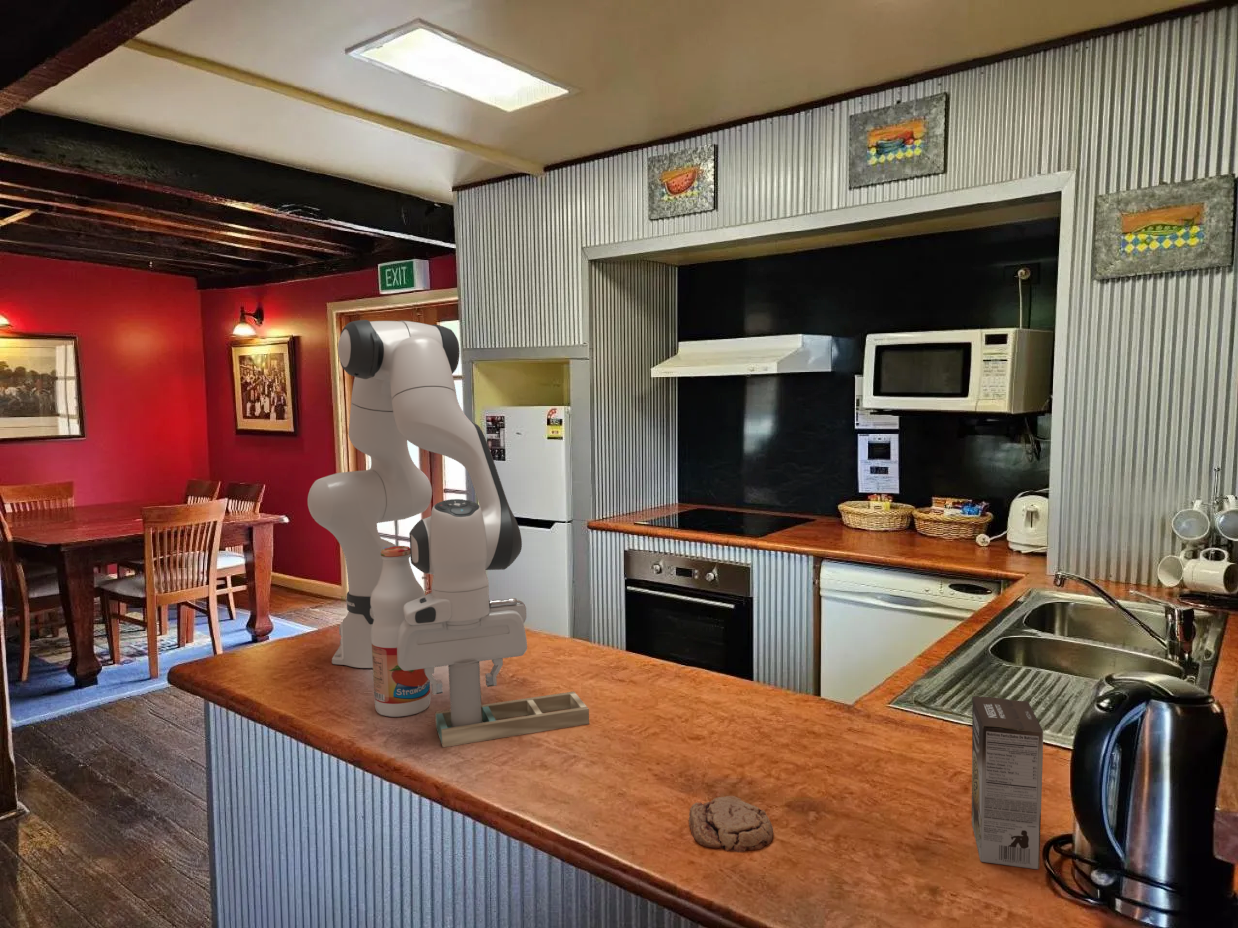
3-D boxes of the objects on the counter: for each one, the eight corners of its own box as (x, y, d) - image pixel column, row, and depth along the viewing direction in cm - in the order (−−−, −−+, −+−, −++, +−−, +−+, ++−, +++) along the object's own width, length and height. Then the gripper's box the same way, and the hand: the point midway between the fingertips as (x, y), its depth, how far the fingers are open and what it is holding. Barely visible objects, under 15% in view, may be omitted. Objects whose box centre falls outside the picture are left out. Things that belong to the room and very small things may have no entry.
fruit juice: (400, 694, 151) (392, 541, 148) (442, 701, 146) (435, 544, 144) (363, 713, 142) (354, 551, 140) (406, 721, 138) (398, 555, 136)
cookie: (763, 862, 95) (763, 837, 95) (675, 844, 99) (675, 820, 99) (782, 820, 104) (781, 797, 104) (701, 805, 109) (700, 783, 108)
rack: (435, 726, 136) (435, 711, 135) (574, 705, 143) (574, 691, 143) (442, 747, 128) (442, 731, 127) (589, 723, 135) (588, 708, 135)
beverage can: (484, 725, 135) (482, 653, 134) (478, 738, 130) (475, 663, 129) (455, 725, 135) (452, 653, 134) (448, 738, 130) (444, 663, 129)
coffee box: (969, 822, 102) (971, 694, 101) (1026, 828, 101) (1029, 699, 99) (978, 862, 94) (980, 723, 92) (1041, 870, 92) (1044, 729, 90)
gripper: (521, 592, 138) (524, 674, 139) (393, 605, 131) (397, 691, 132) (530, 601, 132) (533, 686, 133) (396, 615, 125) (401, 705, 126)
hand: (464, 689), depth 132 cm, fingers open, 7 cm apart
